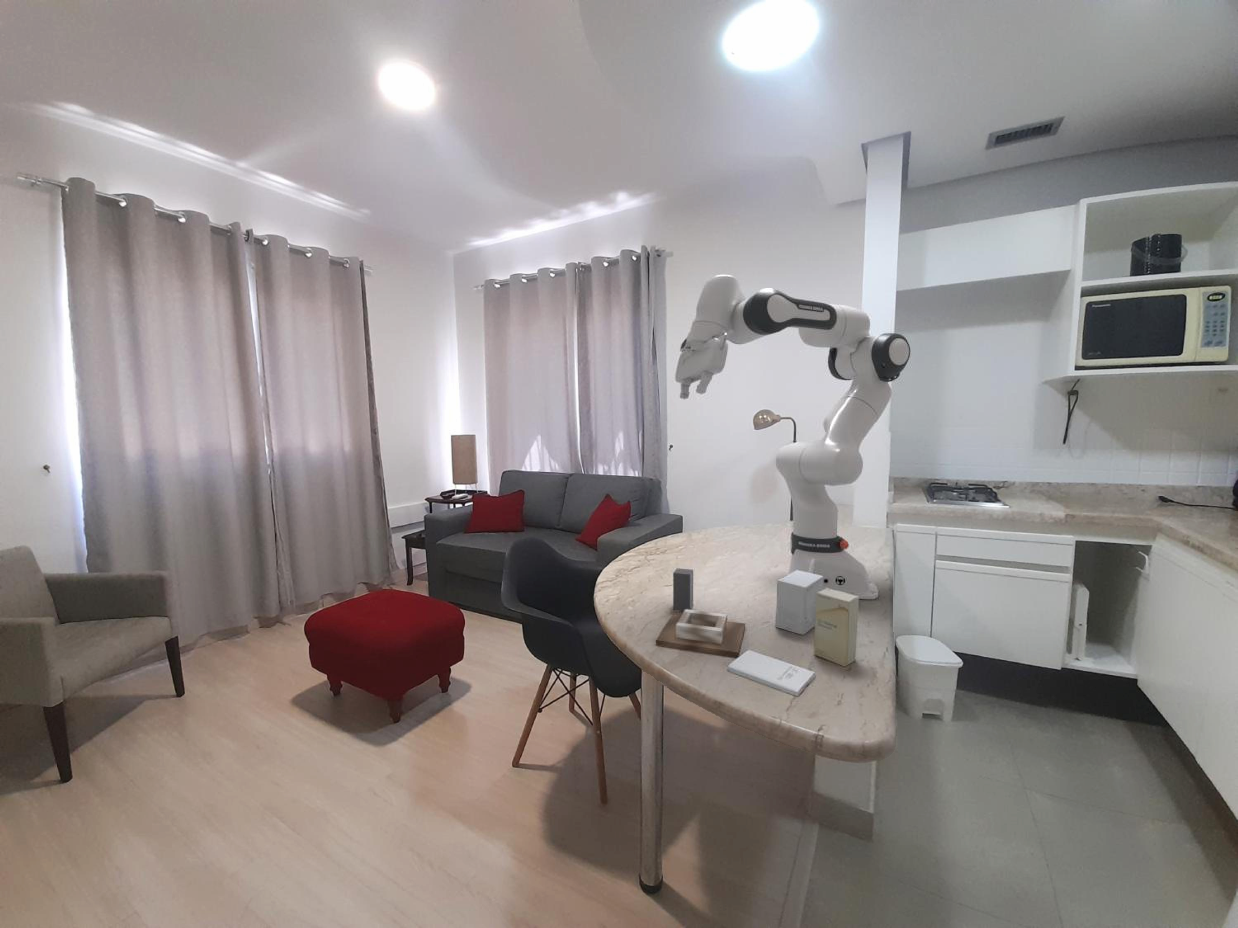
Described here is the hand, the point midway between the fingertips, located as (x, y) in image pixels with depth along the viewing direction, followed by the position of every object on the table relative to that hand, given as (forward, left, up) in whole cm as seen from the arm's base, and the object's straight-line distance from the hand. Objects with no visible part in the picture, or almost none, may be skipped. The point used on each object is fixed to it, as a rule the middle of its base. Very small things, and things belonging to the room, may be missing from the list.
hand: (691, 395), depth 112 cm
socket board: (-6, +17, -51) cm, 54 cm away
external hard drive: (-20, +28, -52) cm, 62 cm away
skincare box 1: (-25, +4, -51) cm, 57 cm away
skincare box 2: (-31, +18, -51) cm, 62 cm away
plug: (+1, +3, -51) cm, 51 cm away
